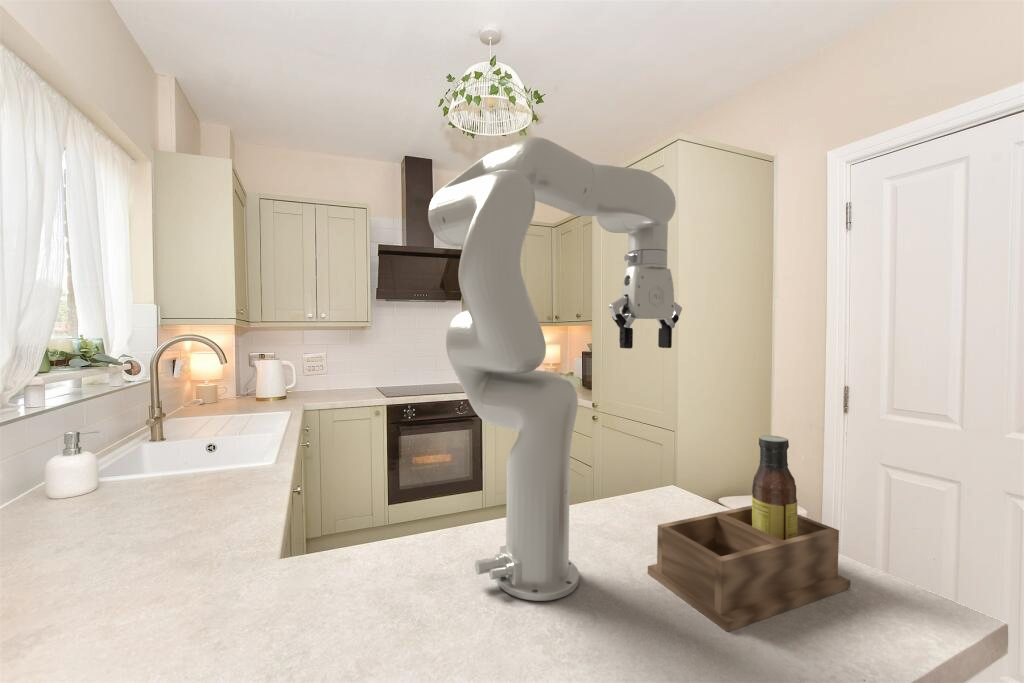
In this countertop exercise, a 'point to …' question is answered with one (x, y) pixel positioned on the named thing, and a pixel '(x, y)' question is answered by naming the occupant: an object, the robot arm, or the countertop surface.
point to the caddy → (746, 566)
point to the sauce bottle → (774, 490)
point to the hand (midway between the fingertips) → (645, 347)
